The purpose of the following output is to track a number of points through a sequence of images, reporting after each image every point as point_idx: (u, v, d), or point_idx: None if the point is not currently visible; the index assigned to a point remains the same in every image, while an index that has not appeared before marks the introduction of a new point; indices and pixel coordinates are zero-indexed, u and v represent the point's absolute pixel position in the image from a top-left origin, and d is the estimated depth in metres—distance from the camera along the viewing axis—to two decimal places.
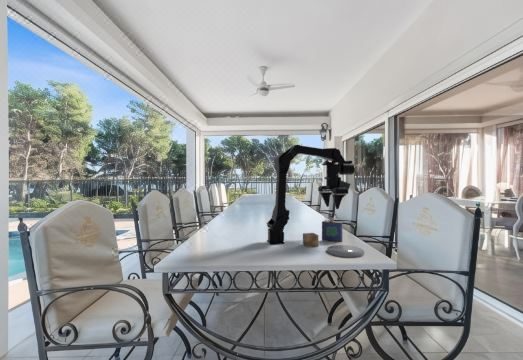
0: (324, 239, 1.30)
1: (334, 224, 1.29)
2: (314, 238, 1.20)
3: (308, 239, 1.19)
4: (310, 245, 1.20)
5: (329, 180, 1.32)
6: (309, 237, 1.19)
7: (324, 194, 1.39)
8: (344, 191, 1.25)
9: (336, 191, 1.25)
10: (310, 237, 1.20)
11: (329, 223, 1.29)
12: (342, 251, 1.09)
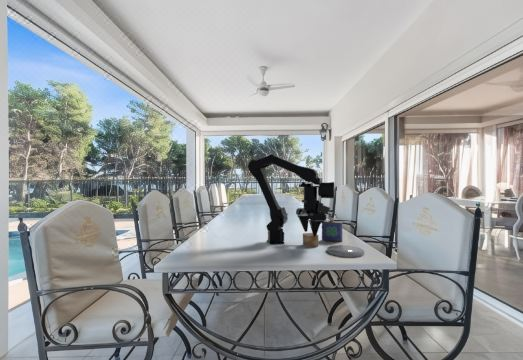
0: (324, 239, 1.30)
1: (334, 224, 1.29)
2: (314, 238, 1.20)
3: (308, 239, 1.19)
4: (310, 245, 1.20)
5: (306, 204, 1.20)
6: (309, 237, 1.19)
7: (302, 218, 1.27)
8: (321, 217, 1.13)
9: (312, 217, 1.13)
10: (310, 237, 1.20)
11: (329, 223, 1.29)
12: (342, 251, 1.09)
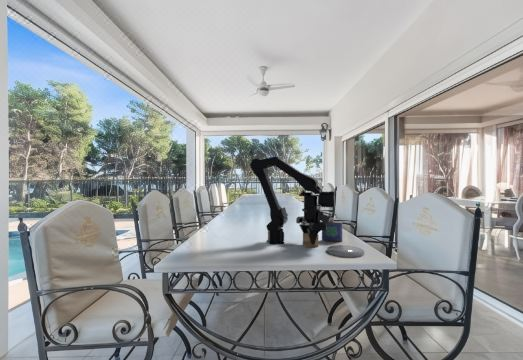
0: (324, 239, 1.30)
1: (334, 224, 1.29)
2: None
3: (308, 239, 1.19)
4: (310, 245, 1.20)
5: (306, 213, 1.20)
6: (309, 237, 1.19)
7: (304, 227, 1.25)
8: (321, 227, 1.13)
9: (313, 227, 1.13)
10: None
11: (329, 223, 1.29)
12: (342, 251, 1.09)
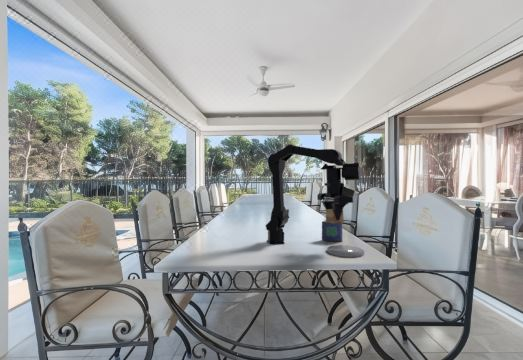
0: (324, 239, 1.30)
1: (334, 224, 1.29)
2: None
3: (333, 214, 1.12)
4: (335, 220, 1.12)
5: (330, 187, 1.13)
6: None
7: (327, 203, 1.17)
8: (348, 199, 1.06)
9: (339, 200, 1.05)
10: None
11: (329, 223, 1.29)
12: (342, 251, 1.09)
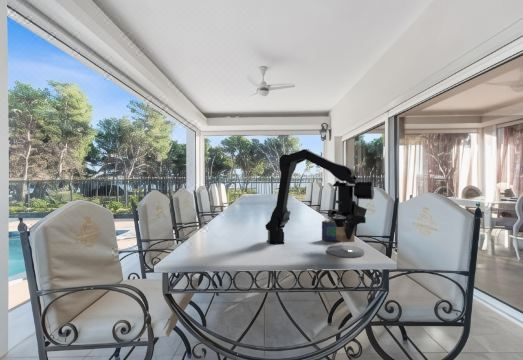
0: (324, 239, 1.30)
1: (334, 224, 1.29)
2: None
3: (344, 233, 1.09)
4: (346, 240, 1.09)
5: (342, 205, 1.09)
6: None
7: (337, 221, 1.14)
8: (360, 219, 1.03)
9: (351, 220, 1.02)
10: None
11: (329, 223, 1.29)
12: (342, 251, 1.09)
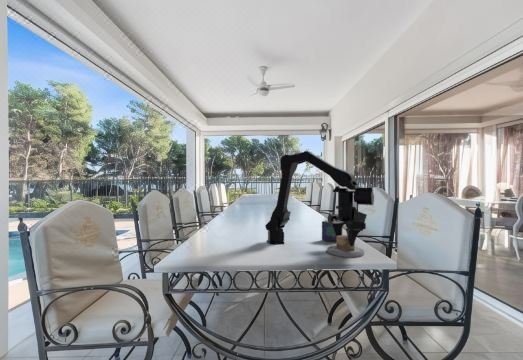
0: (324, 239, 1.30)
1: None
2: None
3: (344, 242, 1.09)
4: (346, 249, 1.09)
5: (342, 210, 1.10)
6: (345, 240, 1.09)
7: (335, 225, 1.16)
8: (360, 225, 1.03)
9: (351, 226, 1.02)
10: (346, 240, 1.09)
11: None
12: (342, 251, 1.09)
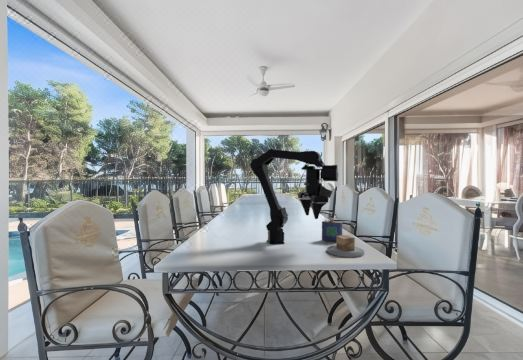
0: (324, 239, 1.30)
1: (334, 224, 1.29)
2: (350, 241, 1.10)
3: (344, 242, 1.09)
4: (346, 249, 1.09)
5: (308, 186, 1.19)
6: (345, 240, 1.09)
7: (304, 201, 1.25)
8: (323, 199, 1.12)
9: (314, 199, 1.12)
10: (346, 240, 1.09)
11: (329, 223, 1.29)
12: (342, 251, 1.09)
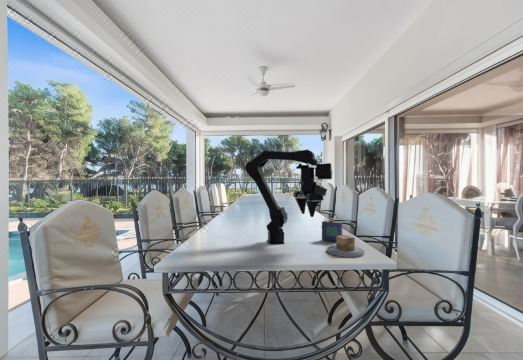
0: (324, 239, 1.30)
1: (334, 224, 1.29)
2: (350, 241, 1.10)
3: (344, 242, 1.09)
4: (346, 249, 1.09)
5: (303, 185, 1.20)
6: (345, 240, 1.09)
7: (299, 200, 1.27)
8: (318, 197, 1.14)
9: (309, 197, 1.13)
10: (346, 240, 1.09)
11: (329, 223, 1.29)
12: (342, 251, 1.09)
